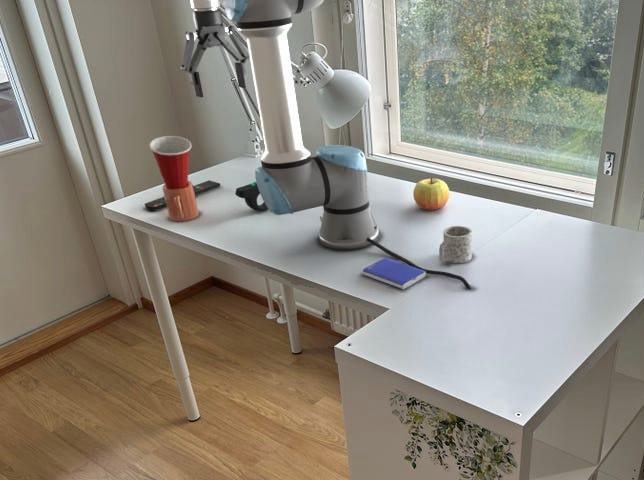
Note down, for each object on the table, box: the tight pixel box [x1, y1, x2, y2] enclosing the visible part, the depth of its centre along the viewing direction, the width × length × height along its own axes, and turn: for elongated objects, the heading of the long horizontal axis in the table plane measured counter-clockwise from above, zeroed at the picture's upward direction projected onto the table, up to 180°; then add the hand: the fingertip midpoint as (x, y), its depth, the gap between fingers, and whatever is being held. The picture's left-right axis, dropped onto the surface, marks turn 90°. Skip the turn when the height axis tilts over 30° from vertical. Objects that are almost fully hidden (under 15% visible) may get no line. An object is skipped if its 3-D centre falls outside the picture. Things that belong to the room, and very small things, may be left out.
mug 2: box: [438, 225, 473, 264], centre depth 169 cm, size 10×7×7 cm, turn 140°
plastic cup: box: [148, 135, 193, 189], centre depth 193 cm, size 11×11×12 cm
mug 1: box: [161, 180, 199, 222], centre depth 198 cm, size 11×8×9 cm
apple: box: [413, 177, 450, 211], centre depth 197 cm, size 10×10×8 cm
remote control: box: [144, 180, 221, 212], centre depth 213 cm, size 5×24×1 cm, turn 142°
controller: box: [234, 181, 269, 212], centre depth 200 cm, size 4×12×10 cm, turn 133°
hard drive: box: [362, 257, 427, 290], centre depth 164 cm, size 2×8×12 cm
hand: (221, 91), depth 201 cm, fingers open, 13 cm apart
